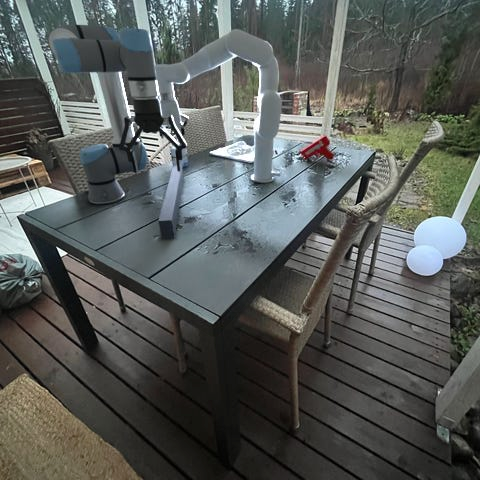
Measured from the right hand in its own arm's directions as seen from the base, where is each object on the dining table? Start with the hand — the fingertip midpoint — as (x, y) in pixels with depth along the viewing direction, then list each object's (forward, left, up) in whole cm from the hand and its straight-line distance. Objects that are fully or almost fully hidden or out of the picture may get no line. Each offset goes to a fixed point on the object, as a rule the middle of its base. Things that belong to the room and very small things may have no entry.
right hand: (172, 137), depth 130 cm
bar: (-2, +25, -23) cm, 34 cm away
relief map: (-34, -54, -23) cm, 68 cm away
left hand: (-4, +50, 0) cm, 50 cm away
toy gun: (-82, -38, -23) cm, 94 cm away
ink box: (+4, -27, -23) cm, 36 cm away
